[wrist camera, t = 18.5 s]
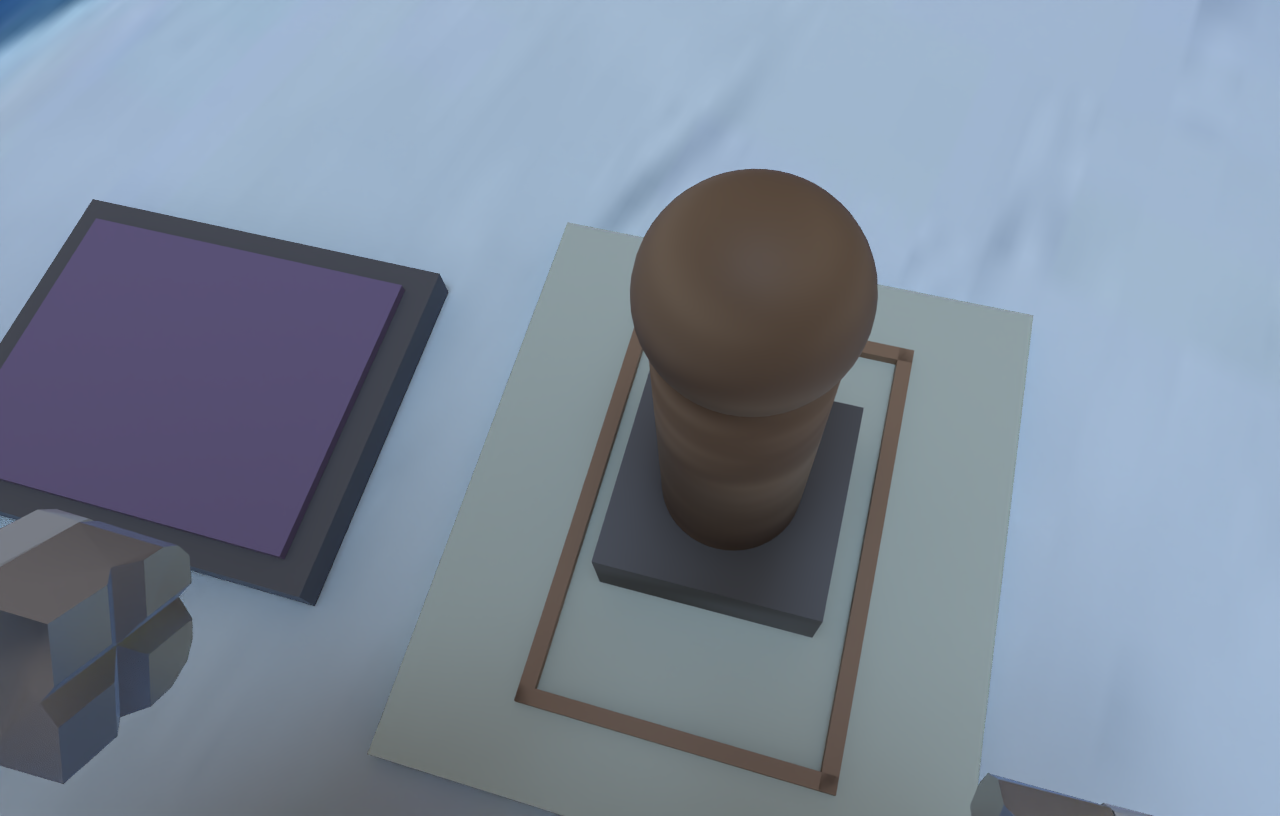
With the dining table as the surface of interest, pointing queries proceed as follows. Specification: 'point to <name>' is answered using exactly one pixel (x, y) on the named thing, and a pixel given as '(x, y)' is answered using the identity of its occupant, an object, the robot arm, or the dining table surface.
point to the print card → (705, 640)
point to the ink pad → (209, 390)
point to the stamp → (742, 400)
